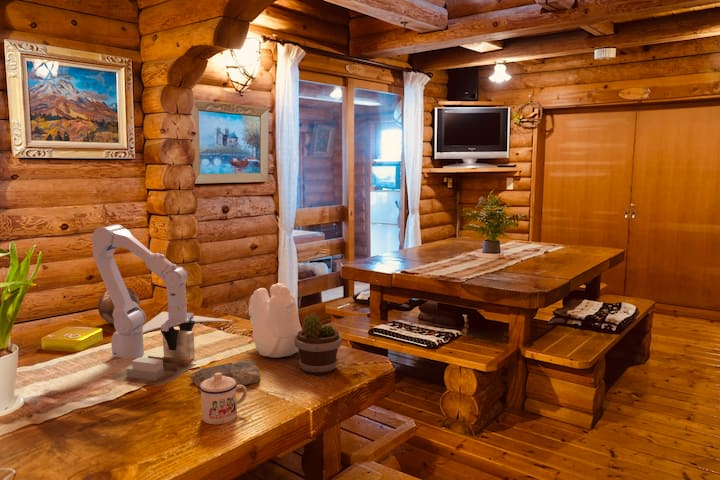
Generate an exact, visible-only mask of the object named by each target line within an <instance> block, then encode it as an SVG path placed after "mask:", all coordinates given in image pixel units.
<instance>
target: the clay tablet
mask: <svg viewBox="0 0 720 480" xmlns="http://www.w3.org/2000/svg"><path fill="white" fill-rule="evenodd" d="M259 368H260V367H258V366H256V361H252V360H244V361H238V362H234V363H232V362H229V363H228V362H227V363H221V364H218V365H215V366H209V367H204V368H201V369H198V370H196V371H194V372H193V373H192V374H191V375H190V376H189V379H190V380H191V382H192V383H194V384H195V386H196V387H198V389H199V390H200V385H201V383H202V382H203V381H205V380H206V379H209V378H211V377H214V374H215V373H222V376H225V377H231V378H233V379H234V380H235V381H236V383H237V385H243V386H247V385H252V384H256V383H259V381H260V380H261V375H260V374H261V373H260V370H259Z"/></svg>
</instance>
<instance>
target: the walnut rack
mask: <svg viewBox="0 0 720 480" xmlns="http://www.w3.org/2000/svg"><path fill="white" fill-rule="evenodd" d="M147 358H153V359H161V360H163V368H164V376H163V377H161V378H159V379H157V380H156V381H154V380H147V379H140V378H133V377H127V372H126V369H125V370H123V371H121V372H119V373H117V374H115V375H113V376H111V377H109V378H108V379H109V380H114V381H119V382H127V383H132V384H133V383H134V384H140V385H149V386H155V387H162V386H164V385H166V384H168V382H170V381H172V380H174V379H176V378H177V377H179V376H180V375H181V374H184V373H185V372H187V371H189V370H190V369H192V368H193V367H195V366H197V363H191V362H185V359H178V358H170V357H160V356H153V355H148V356H147Z"/></svg>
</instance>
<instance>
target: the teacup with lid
mask: <svg viewBox="0 0 720 480" xmlns="http://www.w3.org/2000/svg"><path fill="white" fill-rule="evenodd" d="M199 388H200V389H199V390H200V399H201V400H200V403H201V405H200V406H201V419H202V421H203V422H204V423H206V424H207V425H208V424H209V425H224V424H228V423H230V422H232V421H234V420H235V419H236V418H237V416H238V412H237V410H238V408H237V407H238V405H240V404H242V403H243V402H244V401H245V400H246V398H247V395H248V389H247V387H246V385H237V383H236V381H235V380H234V379H233V378H231V377H225V376H222V373H215V374H214V377H211V378H209V379H206V380H205V381H203V382H202V383H201V385H200V387H199ZM239 389H242V390H243V394H242V396H241V398H240V399H238V400H237V390H239Z"/></svg>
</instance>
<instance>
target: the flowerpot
mask: <svg viewBox="0 0 720 480" xmlns="http://www.w3.org/2000/svg"><path fill="white" fill-rule="evenodd" d="M310 311H311V312H308V313H306V315H305V316H304V318H303V323H302V322H301V323H302V331H299V332H298V335H297V336H296V337H295V340H294V343H295V346H296V347H297V348H298V351H297V352H298V355H299V360H298V362H299V367H300V369H301V370H303V372H305V373H307V374H310V375H313V376H321V375H326V374H327V375H328V374H330V373H332V372H333V371H335V368H336V367H337V365H338V356H337V355H338V350H339V348H340V347H341V345H342V344H343V338H342V336H341V334H340V333H339V331H338V330H336V329H334V328H335V327H334V325H332V324H331V325H330V324H329V323H326V324H323V321H321V317H319V315H318V314H317V311H315V312H314V311H313V310H310Z"/></svg>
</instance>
